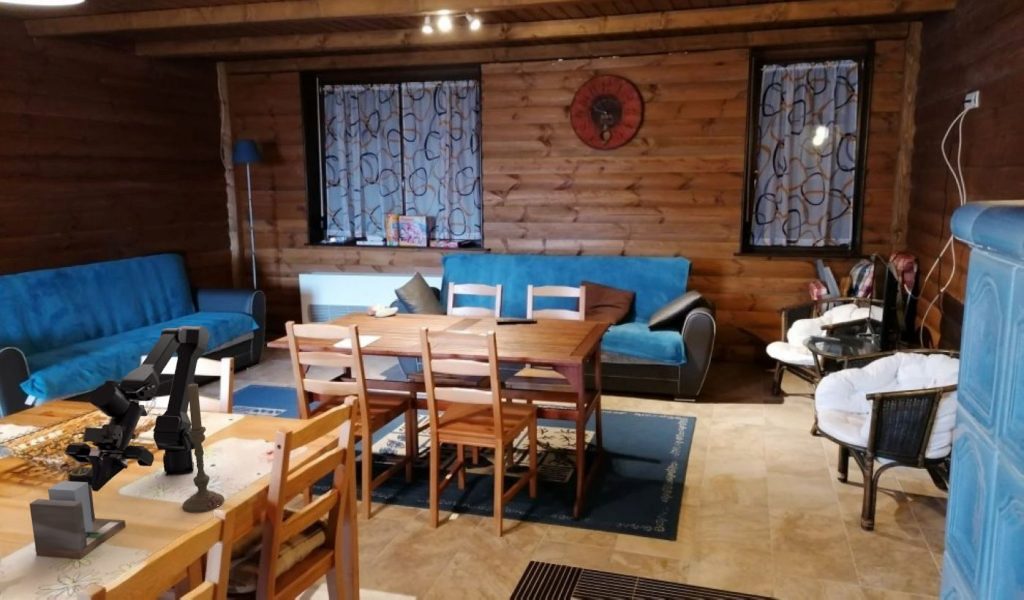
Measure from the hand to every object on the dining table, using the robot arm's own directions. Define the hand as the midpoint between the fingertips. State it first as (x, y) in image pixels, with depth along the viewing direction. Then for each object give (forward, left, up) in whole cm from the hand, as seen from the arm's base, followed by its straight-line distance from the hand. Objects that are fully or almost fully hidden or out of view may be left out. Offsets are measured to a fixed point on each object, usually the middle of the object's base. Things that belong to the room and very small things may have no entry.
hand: (94, 490), depth 162 cm
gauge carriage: (+3, +7, -6) cm, 10 cm away
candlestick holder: (-22, -3, -9) cm, 23 cm away
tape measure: (+6, -27, -9) cm, 29 cm away
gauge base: (+2, +6, -8) cm, 11 cm away
